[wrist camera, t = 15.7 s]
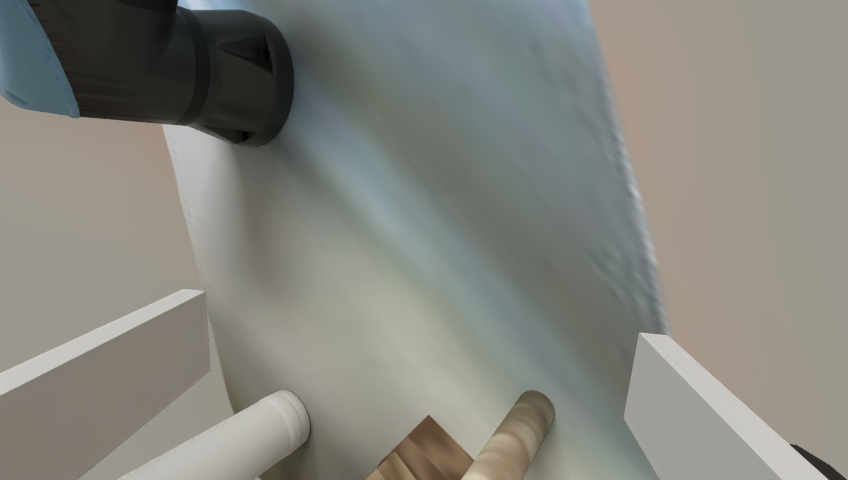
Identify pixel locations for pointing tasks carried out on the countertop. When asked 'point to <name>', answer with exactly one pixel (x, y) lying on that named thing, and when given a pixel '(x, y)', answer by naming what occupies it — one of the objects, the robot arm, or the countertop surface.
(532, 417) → the pin
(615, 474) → the countertop surface
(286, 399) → the bottle
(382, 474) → the toolbox lid
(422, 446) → the toolbox
